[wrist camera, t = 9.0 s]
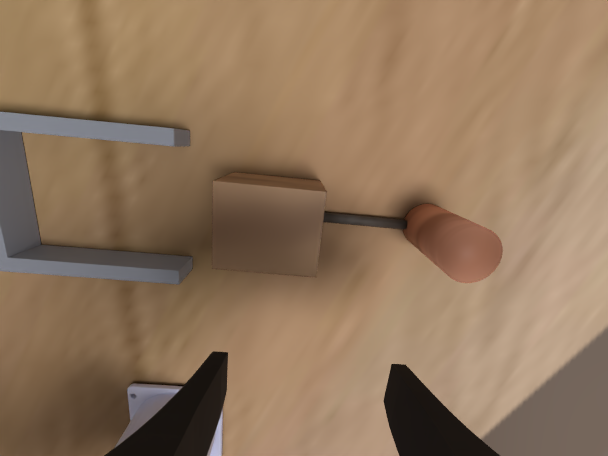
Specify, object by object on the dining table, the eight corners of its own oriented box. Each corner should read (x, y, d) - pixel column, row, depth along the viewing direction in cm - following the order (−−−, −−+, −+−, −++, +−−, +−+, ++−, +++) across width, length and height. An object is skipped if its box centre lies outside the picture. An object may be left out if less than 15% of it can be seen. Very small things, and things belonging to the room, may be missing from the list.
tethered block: (438, 258, 22) (488, 299, 16) (232, 240, 21) (206, 276, 15) (454, 193, 20) (515, 212, 14) (234, 172, 20) (206, 183, 14)
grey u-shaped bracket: (192, 268, 21) (179, 284, 19) (29, 256, 21) (-5, 270, 19) (189, 130, 19) (173, 128, 16) (1, 112, 18) (-44, 107, 16)
